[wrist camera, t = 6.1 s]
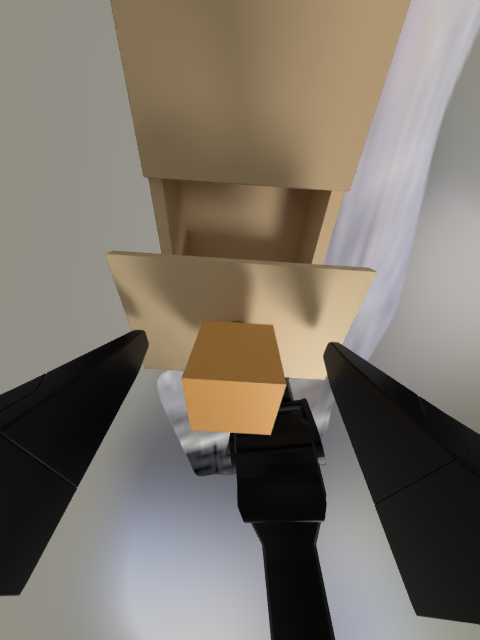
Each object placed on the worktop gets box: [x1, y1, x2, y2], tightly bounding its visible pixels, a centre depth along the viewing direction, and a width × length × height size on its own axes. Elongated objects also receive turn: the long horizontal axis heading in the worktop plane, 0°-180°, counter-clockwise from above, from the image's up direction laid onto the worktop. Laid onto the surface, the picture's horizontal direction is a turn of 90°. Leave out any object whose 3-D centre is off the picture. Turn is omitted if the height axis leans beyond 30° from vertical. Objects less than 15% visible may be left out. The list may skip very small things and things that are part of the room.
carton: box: [110, 0, 411, 265], centre depth 13 cm, size 15×12×6 cm
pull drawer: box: [105, 251, 377, 435], centre depth 8 cm, size 7×12×5 cm, turn 87°
